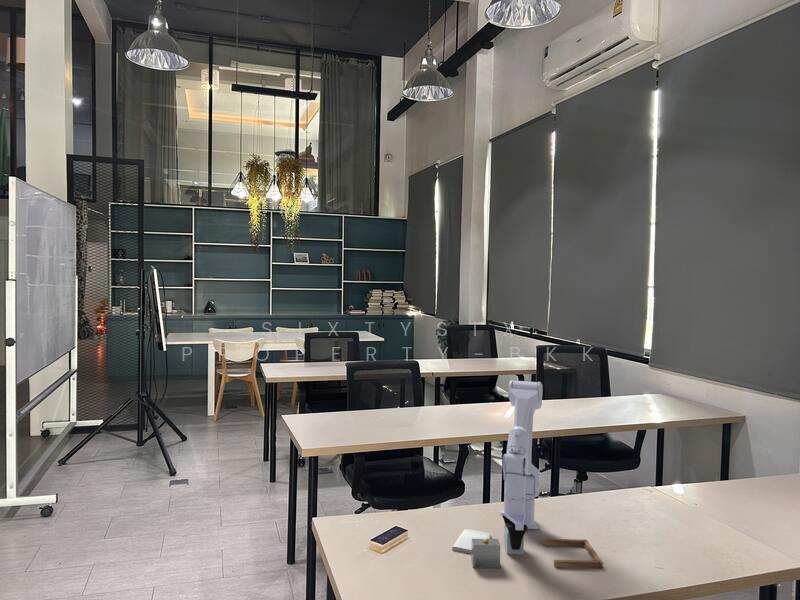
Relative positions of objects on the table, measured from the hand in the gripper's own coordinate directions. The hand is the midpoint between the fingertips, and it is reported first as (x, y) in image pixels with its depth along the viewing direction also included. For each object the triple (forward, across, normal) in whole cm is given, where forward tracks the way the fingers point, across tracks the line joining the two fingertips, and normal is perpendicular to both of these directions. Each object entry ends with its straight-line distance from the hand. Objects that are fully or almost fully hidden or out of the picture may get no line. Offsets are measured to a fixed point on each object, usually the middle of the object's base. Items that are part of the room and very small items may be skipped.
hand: (513, 544), depth 157 cm
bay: (+2, +2, +15) cm, 15 cm away
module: (+2, 0, 0) cm, 2 cm away
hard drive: (+2, -4, -11) cm, 12 cm away
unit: (+2, +8, -9) cm, 12 cm away
